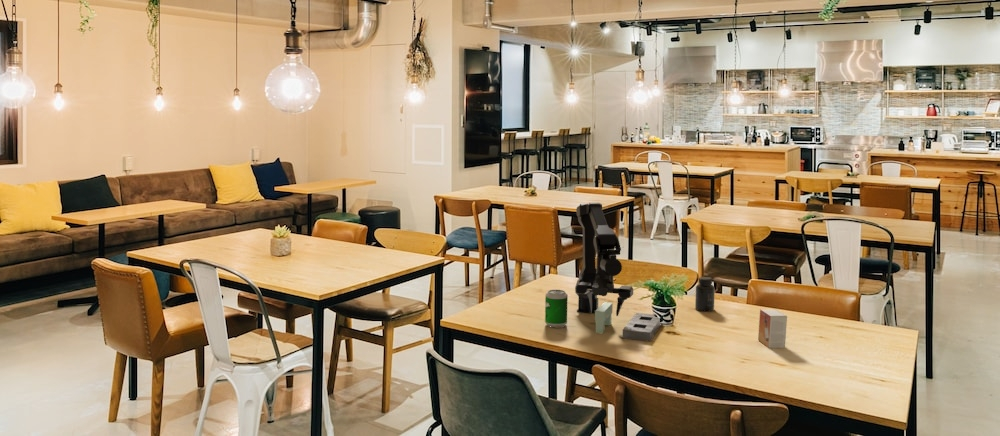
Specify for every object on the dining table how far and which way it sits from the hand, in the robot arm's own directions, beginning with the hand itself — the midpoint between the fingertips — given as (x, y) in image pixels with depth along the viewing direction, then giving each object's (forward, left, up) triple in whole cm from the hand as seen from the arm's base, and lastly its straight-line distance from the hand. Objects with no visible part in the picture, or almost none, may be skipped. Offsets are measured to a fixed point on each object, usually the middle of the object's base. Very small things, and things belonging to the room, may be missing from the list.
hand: (603, 314), depth 263 cm
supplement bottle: (+29, +38, -5) cm, 48 cm away
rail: (+13, +2, -5) cm, 14 cm away
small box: (+54, +3, -5) cm, 54 cm away
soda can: (-16, -3, -5) cm, 17 cm away
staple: (0, 0, -5) cm, 5 cm away
